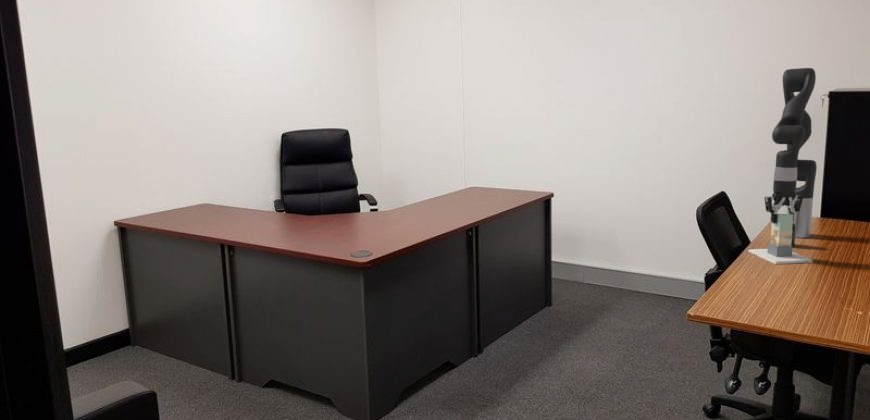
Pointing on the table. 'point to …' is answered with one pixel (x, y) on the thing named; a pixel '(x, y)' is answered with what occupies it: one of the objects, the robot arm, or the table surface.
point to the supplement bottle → (793, 234)
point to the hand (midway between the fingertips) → (781, 222)
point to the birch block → (781, 237)
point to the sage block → (783, 222)
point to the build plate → (781, 259)
